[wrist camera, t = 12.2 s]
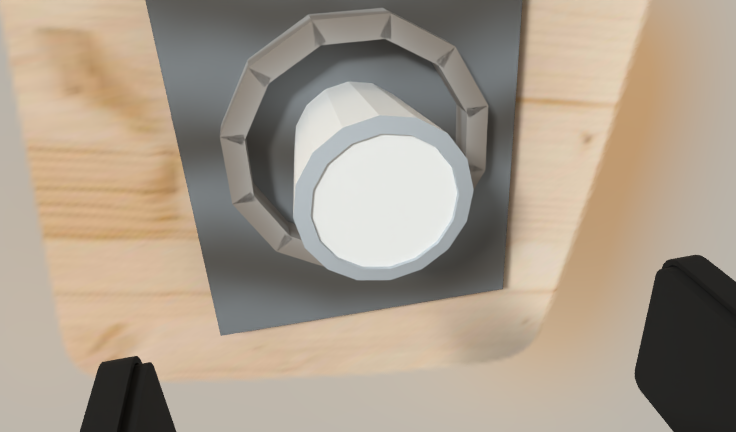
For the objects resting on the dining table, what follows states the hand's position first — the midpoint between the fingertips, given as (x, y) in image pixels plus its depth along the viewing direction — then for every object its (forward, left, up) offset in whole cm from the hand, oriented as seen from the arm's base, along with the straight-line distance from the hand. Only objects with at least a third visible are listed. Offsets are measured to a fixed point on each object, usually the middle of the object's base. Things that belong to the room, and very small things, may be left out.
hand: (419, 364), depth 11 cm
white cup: (+2, +2, -18) cm, 18 cm away
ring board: (+3, +2, -19) cm, 20 cm away
